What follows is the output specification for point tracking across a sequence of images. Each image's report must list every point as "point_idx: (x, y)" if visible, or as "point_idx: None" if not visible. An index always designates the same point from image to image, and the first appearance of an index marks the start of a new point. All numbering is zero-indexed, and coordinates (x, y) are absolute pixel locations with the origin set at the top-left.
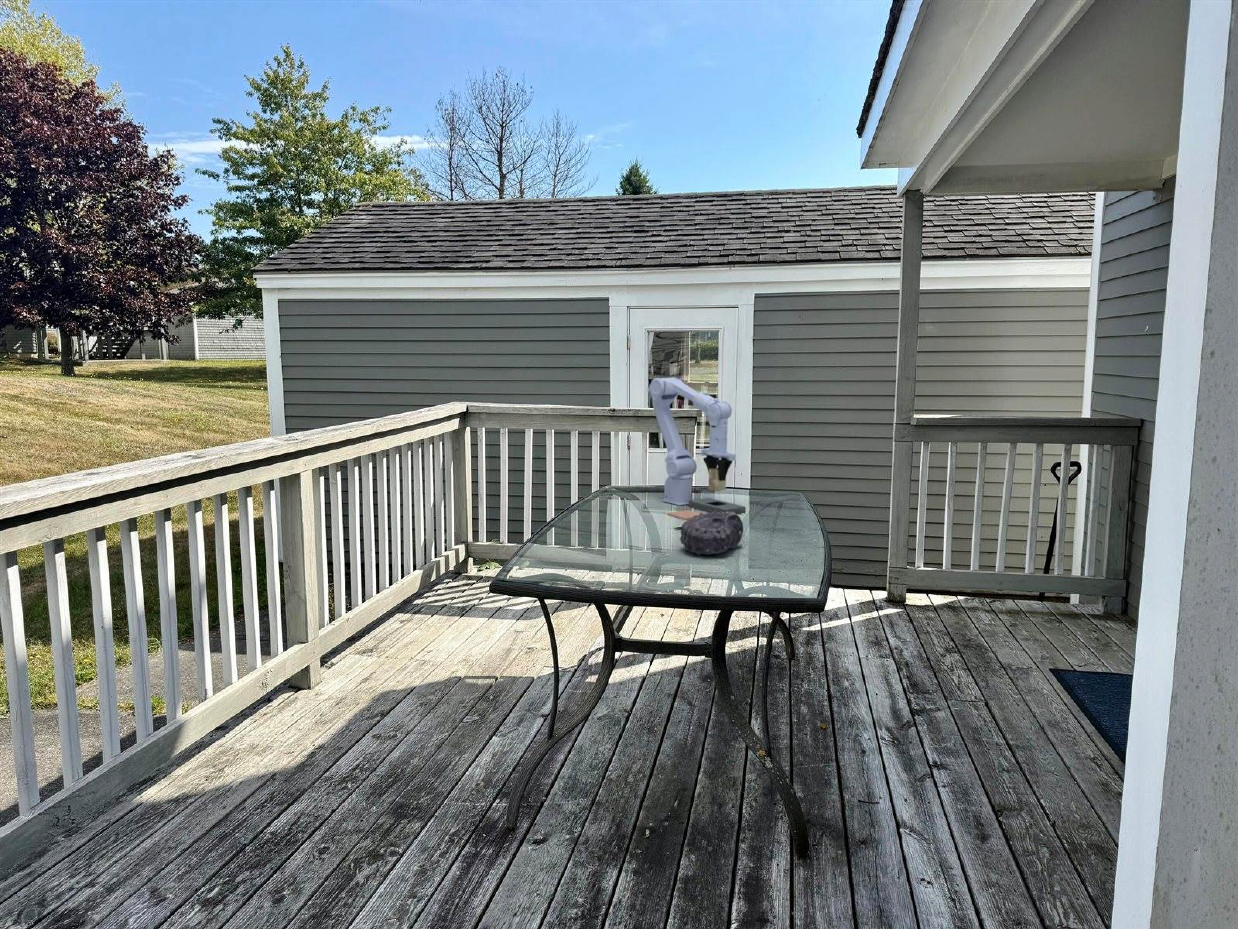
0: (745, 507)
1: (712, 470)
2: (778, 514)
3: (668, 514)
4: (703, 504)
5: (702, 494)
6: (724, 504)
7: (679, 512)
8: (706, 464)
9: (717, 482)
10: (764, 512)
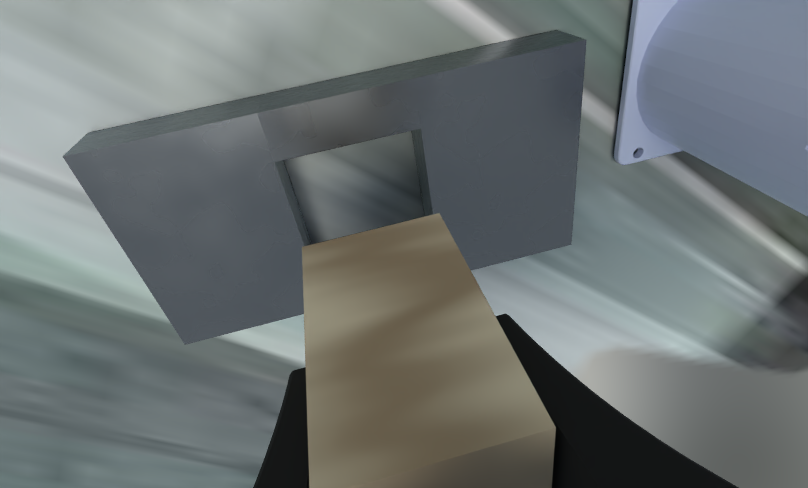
0: (186, 340)
1: (446, 434)
2: (124, 442)
3: None
4: (379, 84)
5: (744, 294)
6: None
7: None
8: (685, 477)
9: (306, 324)
10: (196, 403)
